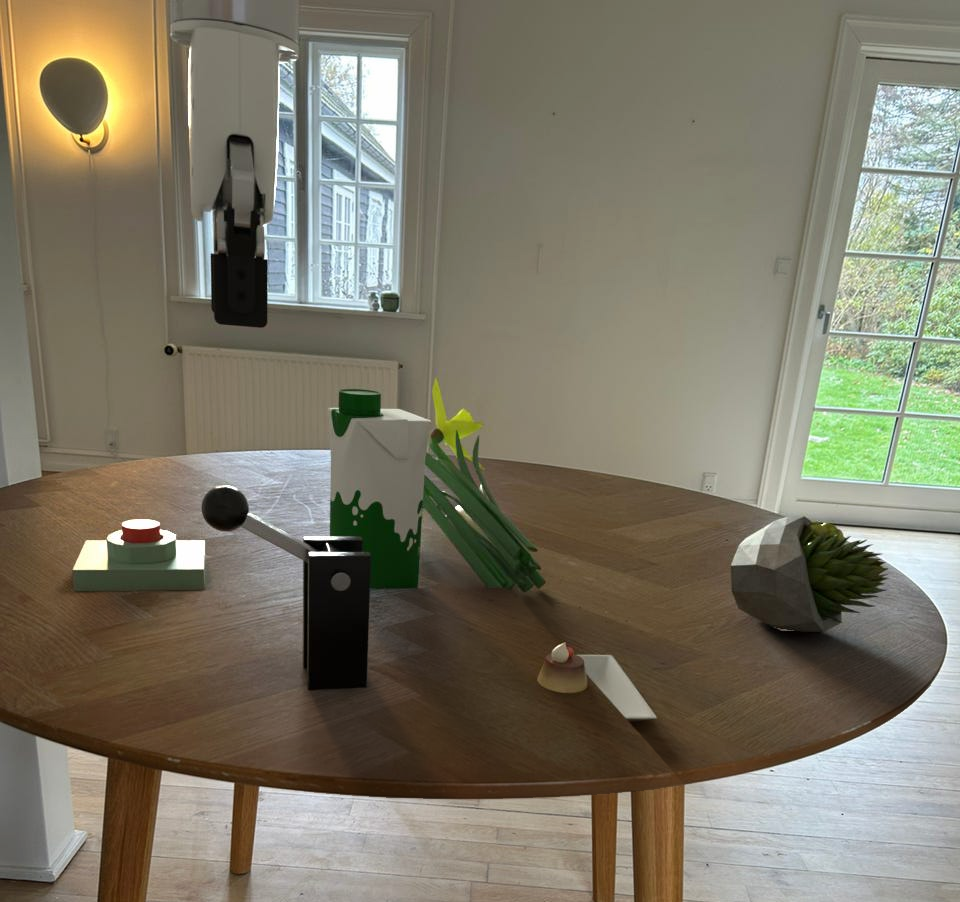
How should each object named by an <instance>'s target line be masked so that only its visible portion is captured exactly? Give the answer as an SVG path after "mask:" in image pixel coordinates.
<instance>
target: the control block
mask: <svg viewBox="0 0 960 902" xmlns="http://www.w3.org/2000/svg"><path fill="white" fill-rule="evenodd" d="M160 535H161V540H159V541H157V542H151V543H130V542H124V541H123V536H122V529H121V530H118V531H115V532H112V533H110V534H108V536H107V537H106V539H105V540H104V539H103V540H101V539H100V540H99V539H98V540H97V539H96V540H93V539H90V540H87V539H86V540H85V541H84V543H83V545H82V547H81V550H80V552H79V554H78V557H77V559H76V561H75V563H74V565H73V567H72V569H71V575H72V586H73V591H74V592H105V591H106V592H107V591H109V592H110V591H111V592H113V591H114V592H115V591H119V592H120V591H184V590H185V591H186V590H187V591H188V590H189V591H190V590H191V591H193V590H195V591H196V590H205V589H206V568H207V567H206V566H207V565H206V564H207V555H206V553H207V552H206V541H205V540H177V534H174V533H172V532H171V531H168V530H163V529H160Z"/></svg>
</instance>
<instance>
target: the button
mask: <svg viewBox="0 0 960 902" xmlns="http://www.w3.org/2000/svg"><path fill="white" fill-rule="evenodd" d="M121 530H122V536H123V541H124V542H130V543H151V542H157V541H159V540H161V535H160V530H161V523H160V522H159V521H157V520H153V519H142V518H141V519H139V518H137V519H130V520H126V521H123V522H122V523H121Z"/></svg>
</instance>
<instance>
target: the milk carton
mask: <svg viewBox="0 0 960 902" xmlns="http://www.w3.org/2000/svg"><path fill="white" fill-rule="evenodd" d="M381 407H382V393H381V392H380V391H376V390H371V389H363V388H362V389H361V388H343V389H342V388H341V389H340V390H338V407H328V408H327V417H328V418H327V419H328V433H329V449H330V478H329V479H330V481H329V482H330V485H329V486H330V487H329V490H330V491H329V537H361V538H362V540H363V552H369V553H370V555H371V575H370V590H403V589H404V590H406V589H407V590H411V589H414V590H415V589H416V590H417V589H419V578H420V563H421V562H420V560H421V559H420V558H421V542H422V540H421V539H422V526H423V525H422V523H423V520H422V514H423V490H424V475H425V470H426V465H425V458H426V452H427V451H428V446H429V436H430V433H431V428H432V427H431V426H432V420H430V419H428V418H425V417H422V416H419V415H417V414H414V413H412V412H408V411H406V410H404V409H401V408H381Z"/></svg>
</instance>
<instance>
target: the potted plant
mask: <svg viewBox="0 0 960 902" xmlns="http://www.w3.org/2000/svg"><path fill="white" fill-rule="evenodd" d="M851 537H852V535H849V536H846V537H845V536H844V533H843V531H842V530H841V529H840V528H838V527H837V526H836V525H835V524H832V523H829V522H823V524H821V523H820V522H819V521H817V520H811V519H809V518H808V517H806V516H805V515H797V516H796V515H795V516H794V515H793V516H785V517H782V518H779V519H776V520H773V521H772V522H770V523H769V524H767V525H766V526H763V528H761V529H758V530H757V531H756V532H754V533H752V534H750V535H749V536H747V537H746V538H744V540H742V541H741V542H740V544H739V545H738V546H737V549H736V551H735V554H734V556H733V559H732V562H731V564H730V584H731V586H730V587H731V593H732V596H733V598H734V601H735V604H736V605H737V608H738V610H740V611H742V612H743V613H745V614H747V615H748V616H751V617H753V618H755V619H756V620H758V621H760V622H762V623H764V624H766V625H768V624H769V625H771V626H773V627H776V628H780V629H787V630H794V631H801V633H825V632H827V631H828V630H830V629H832V628H834V627H836V626H838V625H840V624H843V621H842V620H843V619H842V613H850V614H861V612H860V611H857V610H854V609H851V608H848V607H847V606H854V607H865V608H873V607H876V605H875V604H874V605H873V604H869V603H867V602H863V601H860V600H867V599H872V598H879V595H874V594H878V593H882V592H886V591H887V589H884V588H879V586H883V585H885V584H886V583H884V582H883V581H887V580H888V579H889V577H885V576H888V575H889V573H884V572H886V571H889V569H890V568H888V567H884V566H883V565H885V564H886V563H887V562H886V561H882V558H879V557H878V556H881V555H882V553H881V552H875V551H866V550H867V549H868V548H870V547H871V546H874V544H872V543H871V544H867V545H863V546H859V545H862V544H863V543H865V542H866V541H868V539H864V540H862V539H859V540H854V541H851V542H848V543H846V542H847V541H848V540H849V539H850V538H851ZM876 557H878V558H876ZM882 573H884V574H882ZM769 625H768V626H769ZM771 626H770V627H771ZM773 627H772V628H773Z"/></svg>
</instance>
